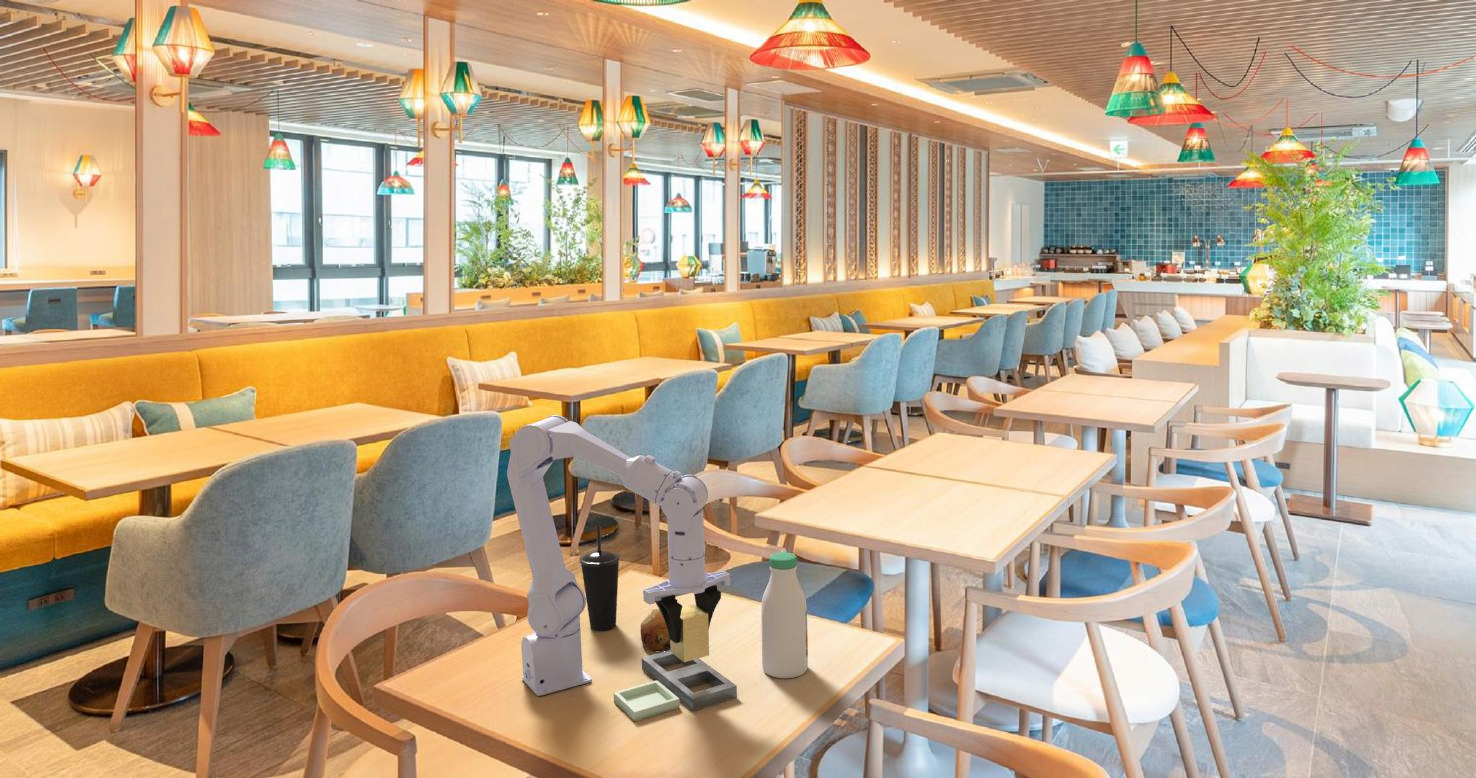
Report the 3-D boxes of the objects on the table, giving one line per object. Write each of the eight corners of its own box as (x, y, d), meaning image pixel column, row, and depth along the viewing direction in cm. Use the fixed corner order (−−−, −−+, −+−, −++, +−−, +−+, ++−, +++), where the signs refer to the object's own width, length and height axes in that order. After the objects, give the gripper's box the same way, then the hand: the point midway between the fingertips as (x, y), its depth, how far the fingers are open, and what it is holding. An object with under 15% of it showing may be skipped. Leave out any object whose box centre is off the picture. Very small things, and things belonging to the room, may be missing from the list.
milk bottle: (804, 681, 156) (803, 564, 153) (758, 678, 157) (756, 562, 154) (810, 661, 163) (809, 549, 160) (766, 658, 165) (764, 547, 162)
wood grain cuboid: (684, 662, 148) (682, 619, 147) (670, 652, 152) (669, 610, 151) (709, 655, 150) (708, 613, 149) (695, 645, 154) (694, 604, 153)
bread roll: (697, 653, 176) (698, 609, 179) (689, 652, 166) (690, 605, 169) (644, 652, 177) (646, 608, 180) (633, 651, 167) (635, 604, 170)
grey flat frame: (692, 711, 147) (692, 698, 146) (641, 668, 162) (641, 657, 162) (736, 697, 151) (736, 685, 151) (683, 657, 166) (682, 646, 166)
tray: (635, 721, 144) (634, 711, 144) (614, 701, 150) (613, 692, 150) (679, 707, 148) (679, 698, 148) (657, 688, 154) (657, 680, 154)
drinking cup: (575, 632, 178) (570, 529, 175) (593, 616, 185) (588, 517, 182) (613, 636, 176) (608, 531, 173) (629, 620, 183) (625, 520, 180)
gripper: (656, 570, 141) (659, 656, 143) (739, 552, 149) (741, 634, 151) (636, 557, 147) (639, 640, 149) (716, 541, 155) (718, 620, 157)
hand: (688, 636), depth 151 cm, fingers closed on wood grain cuboid, 4 cm apart
